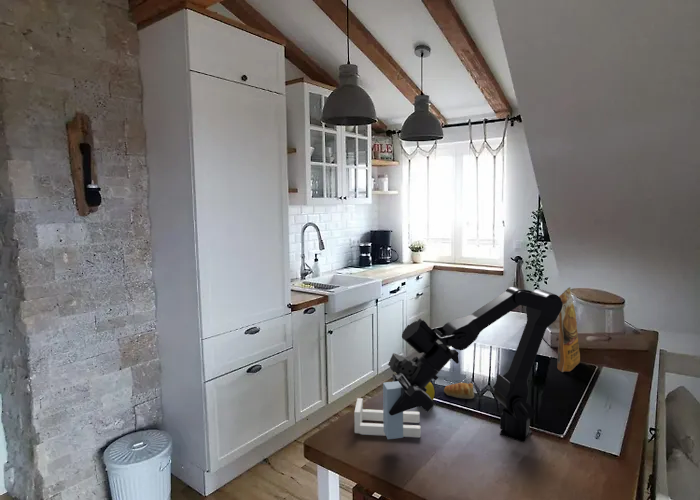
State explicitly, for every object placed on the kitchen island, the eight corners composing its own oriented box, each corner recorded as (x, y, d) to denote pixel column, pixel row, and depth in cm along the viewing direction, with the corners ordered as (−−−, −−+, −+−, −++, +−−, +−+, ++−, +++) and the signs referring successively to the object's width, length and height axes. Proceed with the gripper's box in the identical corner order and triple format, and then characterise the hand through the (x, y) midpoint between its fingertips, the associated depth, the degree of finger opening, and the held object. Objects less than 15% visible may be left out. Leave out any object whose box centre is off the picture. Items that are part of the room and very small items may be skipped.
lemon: (434, 410, 132) (434, 384, 131) (415, 408, 133) (415, 383, 132) (434, 401, 138) (434, 376, 137) (416, 400, 139) (416, 375, 138)
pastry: (444, 398, 140) (444, 387, 139) (443, 389, 147) (443, 378, 146) (475, 400, 139) (475, 388, 138) (472, 390, 145) (472, 379, 145)
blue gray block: (398, 429, 115) (398, 381, 113) (403, 437, 111) (403, 387, 109) (383, 430, 114) (383, 382, 113) (387, 439, 110) (387, 389, 109)
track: (419, 420, 127) (419, 400, 126) (420, 437, 118) (420, 416, 117) (357, 417, 129) (357, 397, 128) (354, 434, 120) (354, 412, 119)
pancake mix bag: (547, 370, 160) (551, 294, 156) (565, 355, 174) (569, 285, 170) (567, 375, 155) (572, 296, 152) (584, 360, 169) (588, 287, 165)
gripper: (397, 332, 119) (357, 375, 119) (420, 357, 101) (373, 408, 101) (425, 357, 122) (386, 400, 121) (453, 387, 104) (407, 437, 103)
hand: (387, 409), depth 112 cm, fingers closed on blue gray block, 4 cm apart
